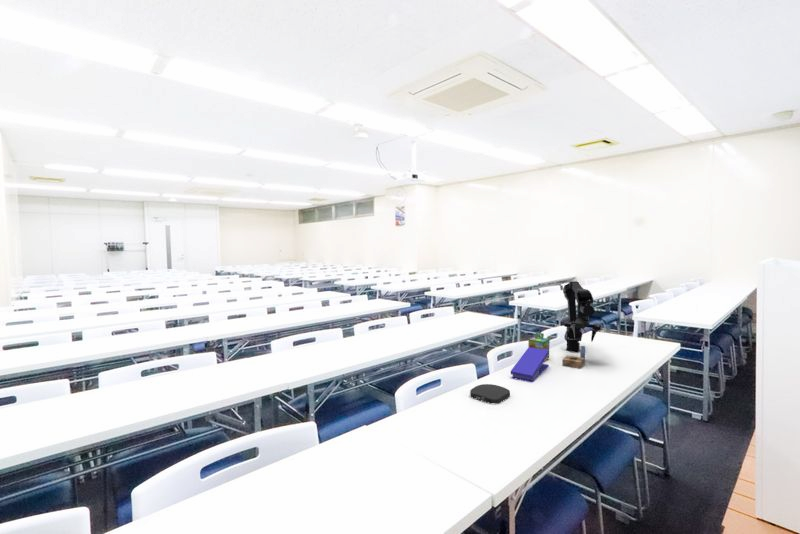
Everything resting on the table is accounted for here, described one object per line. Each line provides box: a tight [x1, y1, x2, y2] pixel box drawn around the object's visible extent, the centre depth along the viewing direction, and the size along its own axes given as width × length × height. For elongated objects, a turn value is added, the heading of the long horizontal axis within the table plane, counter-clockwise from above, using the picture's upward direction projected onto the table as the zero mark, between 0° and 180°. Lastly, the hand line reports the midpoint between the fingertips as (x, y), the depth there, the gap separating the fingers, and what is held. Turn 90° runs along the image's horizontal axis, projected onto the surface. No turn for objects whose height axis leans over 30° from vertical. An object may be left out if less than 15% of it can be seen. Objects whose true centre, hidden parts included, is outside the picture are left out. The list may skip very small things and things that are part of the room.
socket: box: [561, 354, 586, 370], centre depth 209 cm, size 9×9×4 cm
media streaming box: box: [469, 383, 511, 404], centre depth 171 cm, size 15×15×3 cm
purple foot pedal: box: [510, 347, 550, 383], centre depth 200 cm, size 12×28×10 cm, turn 144°
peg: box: [579, 345, 586, 359], centre depth 216 cm, size 2×2×8 cm
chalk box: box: [527, 332, 551, 361], centre depth 221 cm, size 9×9×15 cm
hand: (582, 340), depth 216 cm, fingers open, 9 cm apart
